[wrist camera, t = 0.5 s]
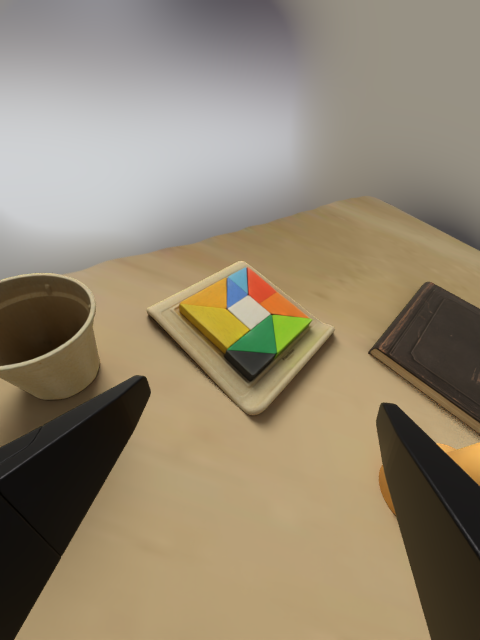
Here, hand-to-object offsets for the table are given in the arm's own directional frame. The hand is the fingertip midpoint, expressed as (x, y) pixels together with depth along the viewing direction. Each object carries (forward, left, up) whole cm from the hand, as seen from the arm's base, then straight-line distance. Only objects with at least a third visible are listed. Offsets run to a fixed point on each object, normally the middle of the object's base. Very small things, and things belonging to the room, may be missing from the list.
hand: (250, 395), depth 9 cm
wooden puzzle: (+17, +1, -16) cm, 24 cm away
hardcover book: (+22, -29, -16) cm, 40 cm away
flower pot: (+5, +17, -16) cm, 23 cm away
